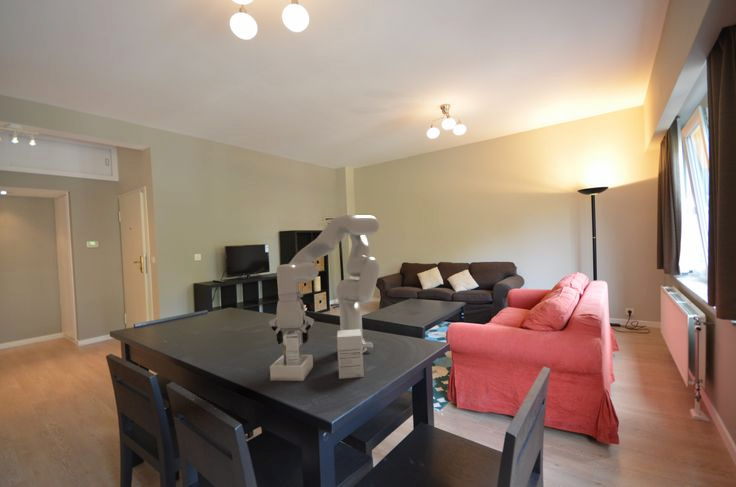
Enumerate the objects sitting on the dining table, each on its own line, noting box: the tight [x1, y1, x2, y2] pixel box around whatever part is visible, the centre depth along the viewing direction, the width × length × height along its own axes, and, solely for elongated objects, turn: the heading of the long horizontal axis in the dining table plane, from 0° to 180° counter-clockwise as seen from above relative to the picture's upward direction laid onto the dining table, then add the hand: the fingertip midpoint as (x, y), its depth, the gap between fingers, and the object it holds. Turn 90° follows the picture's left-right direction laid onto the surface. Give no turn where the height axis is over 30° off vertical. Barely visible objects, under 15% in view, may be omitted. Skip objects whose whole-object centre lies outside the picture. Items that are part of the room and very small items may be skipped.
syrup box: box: [282, 329, 303, 366], centre depth 123 cm, size 6×6×14 cm
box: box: [269, 354, 314, 382], centre depth 123 cm, size 12×12×5 cm
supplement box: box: [336, 329, 365, 380], centre depth 121 cm, size 9×9×15 cm
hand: (292, 342), depth 124 cm, fingers open, 9 cm apart
